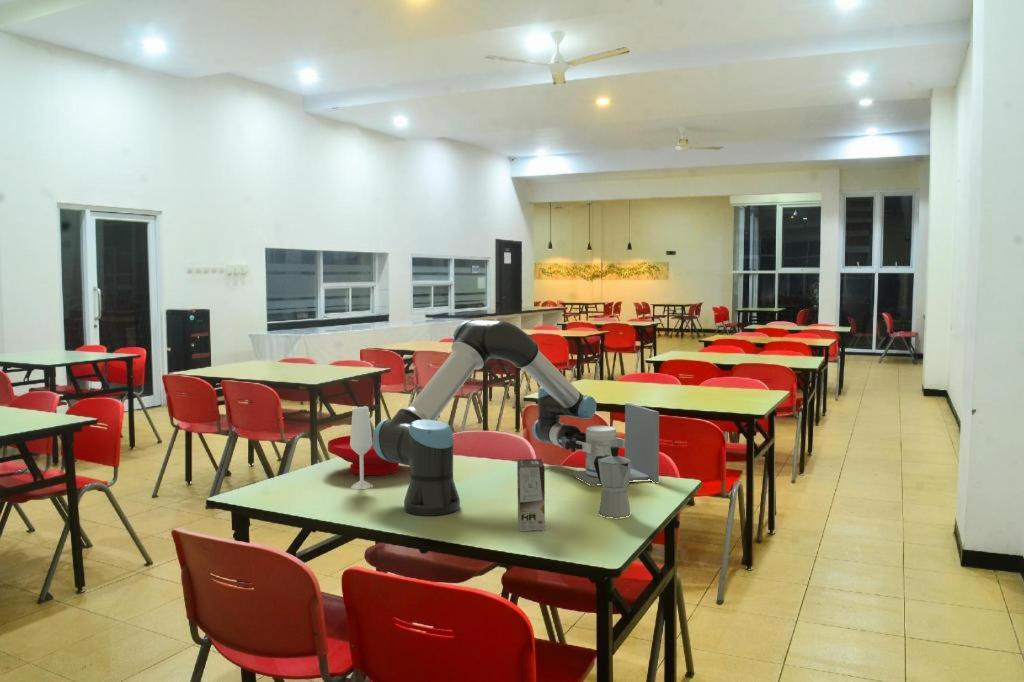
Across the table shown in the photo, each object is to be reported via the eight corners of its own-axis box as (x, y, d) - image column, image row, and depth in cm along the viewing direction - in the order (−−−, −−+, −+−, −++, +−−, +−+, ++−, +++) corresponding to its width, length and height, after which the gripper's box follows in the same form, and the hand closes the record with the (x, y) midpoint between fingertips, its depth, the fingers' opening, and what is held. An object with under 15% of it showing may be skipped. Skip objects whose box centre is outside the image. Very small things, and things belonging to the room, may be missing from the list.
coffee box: (545, 531, 190) (545, 466, 189) (519, 531, 190) (519, 466, 189) (541, 520, 199) (541, 458, 199) (516, 521, 199) (516, 459, 198)
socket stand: (658, 482, 238) (659, 411, 237) (595, 488, 232) (595, 415, 230) (629, 469, 257) (629, 403, 256) (569, 474, 251) (569, 406, 249)
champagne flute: (377, 486, 236) (376, 408, 234) (357, 490, 231) (356, 410, 230) (366, 482, 241) (365, 405, 239) (346, 486, 237) (345, 407, 235)
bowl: (332, 484, 239) (332, 452, 238) (324, 464, 268) (323, 435, 267) (430, 476, 249) (429, 445, 248) (411, 458, 277) (411, 430, 277)
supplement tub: (585, 470, 248) (585, 425, 247) (615, 471, 247) (615, 425, 247) (585, 477, 239) (585, 430, 238) (616, 478, 238) (617, 430, 237)
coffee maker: (643, 518, 201) (643, 449, 200) (616, 523, 197) (616, 452, 196) (608, 504, 214) (608, 440, 213) (582, 509, 210) (582, 443, 209)
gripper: (595, 443, 265) (637, 453, 247) (535, 451, 251) (575, 463, 233) (595, 421, 264) (637, 430, 246) (535, 428, 251) (575, 438, 233)
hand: (607, 446), depth 240 cm, fingers open, 13 cm apart
